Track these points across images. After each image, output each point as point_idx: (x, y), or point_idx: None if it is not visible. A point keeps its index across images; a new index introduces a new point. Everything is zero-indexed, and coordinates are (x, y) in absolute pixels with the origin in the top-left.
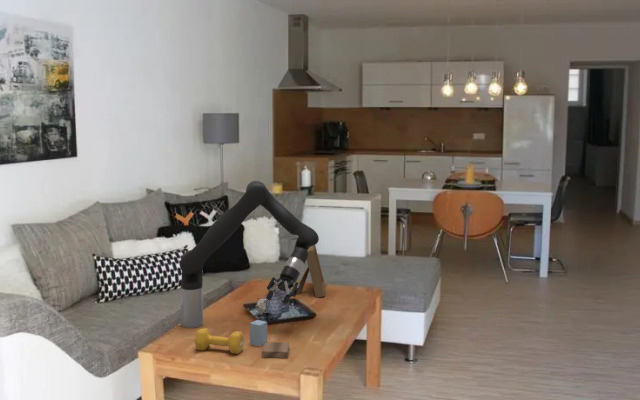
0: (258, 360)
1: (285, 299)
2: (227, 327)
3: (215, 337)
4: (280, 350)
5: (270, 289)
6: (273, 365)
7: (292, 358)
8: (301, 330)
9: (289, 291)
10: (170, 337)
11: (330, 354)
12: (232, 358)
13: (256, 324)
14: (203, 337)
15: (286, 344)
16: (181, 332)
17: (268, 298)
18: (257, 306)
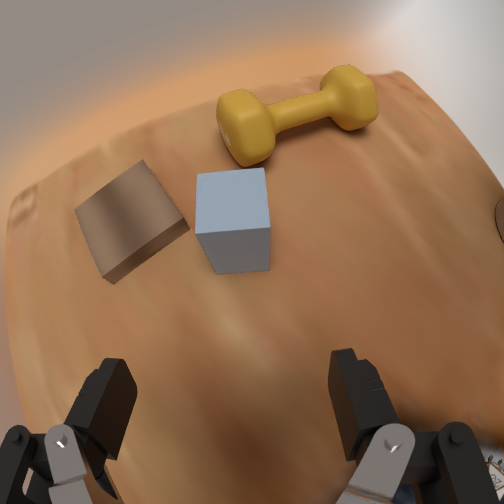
0: (147, 155)
1: (96, 388)
2: (460, 289)
3: (308, 94)
4: (95, 203)
5: (391, 436)
6: (98, 164)
7: (72, 228)
8: (203, 483)
9: (55, 470)
10: (456, 134)
11: (11, 323)
12: None
13: (219, 174)
14: (325, 75)
15: (100, 255)
16: (477, 170)
17: (332, 362)
18: (489, 462)
